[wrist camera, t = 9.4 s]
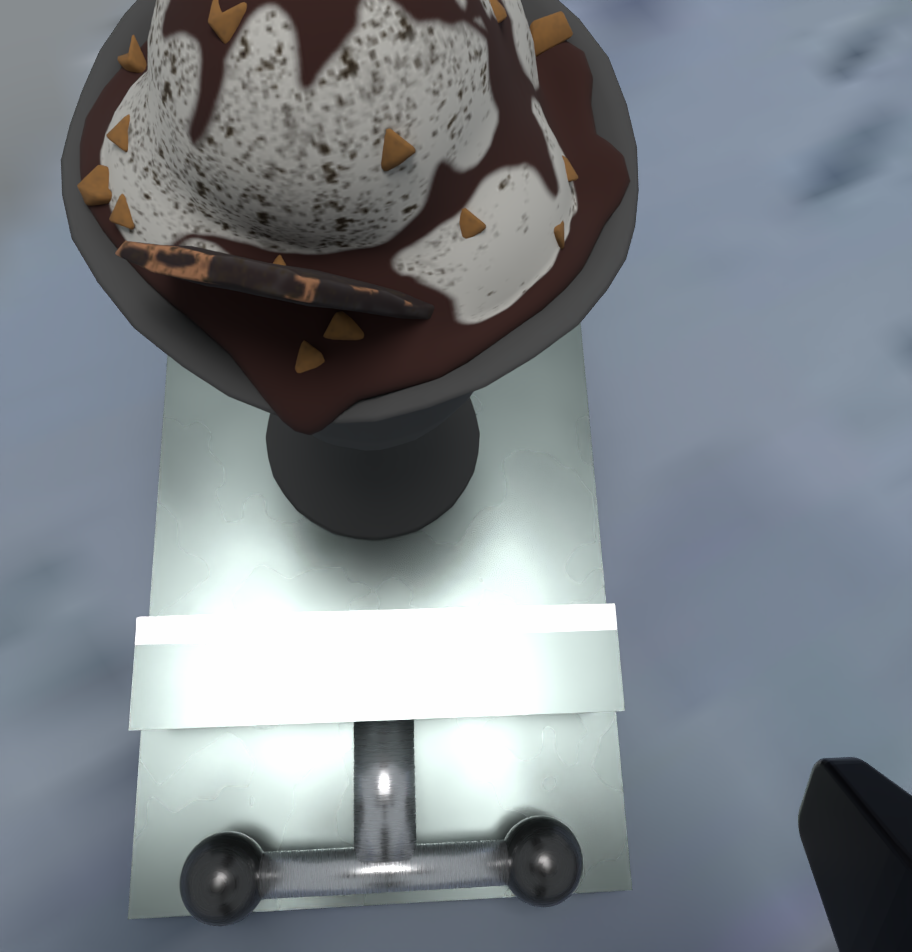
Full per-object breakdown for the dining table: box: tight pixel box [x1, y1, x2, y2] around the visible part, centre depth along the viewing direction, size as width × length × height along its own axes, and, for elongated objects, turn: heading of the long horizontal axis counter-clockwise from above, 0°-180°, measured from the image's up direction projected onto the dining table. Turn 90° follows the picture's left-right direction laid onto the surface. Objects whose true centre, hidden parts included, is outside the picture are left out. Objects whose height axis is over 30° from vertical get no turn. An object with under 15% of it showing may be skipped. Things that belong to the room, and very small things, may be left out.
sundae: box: [61, 0, 639, 540], centre depth 12 cm, size 7×7×15 cm
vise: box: [128, 323, 632, 926], centre depth 17 cm, size 16×10×4 cm, turn 2°
